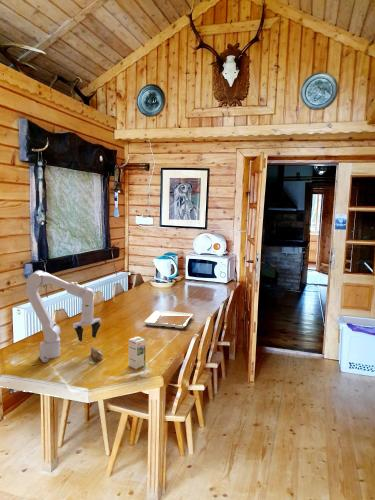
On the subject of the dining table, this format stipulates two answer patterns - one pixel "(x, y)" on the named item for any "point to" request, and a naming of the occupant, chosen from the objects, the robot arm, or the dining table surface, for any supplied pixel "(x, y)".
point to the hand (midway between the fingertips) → (87, 338)
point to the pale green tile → (91, 362)
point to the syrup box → (137, 352)
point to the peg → (96, 354)
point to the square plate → (156, 314)
